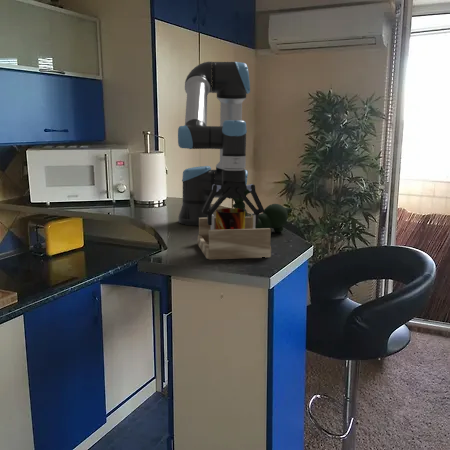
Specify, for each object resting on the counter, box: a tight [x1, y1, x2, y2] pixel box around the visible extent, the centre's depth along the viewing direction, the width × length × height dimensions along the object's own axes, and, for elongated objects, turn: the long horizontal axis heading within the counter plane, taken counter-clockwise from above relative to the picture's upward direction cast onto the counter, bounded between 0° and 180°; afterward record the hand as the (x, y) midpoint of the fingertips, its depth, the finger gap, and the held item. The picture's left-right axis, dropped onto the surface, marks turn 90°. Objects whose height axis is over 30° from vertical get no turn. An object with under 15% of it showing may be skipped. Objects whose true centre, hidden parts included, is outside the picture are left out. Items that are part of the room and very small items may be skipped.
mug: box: [215, 207, 245, 230], centre depth 172 cm, size 10×14×12 cm
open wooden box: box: [197, 216, 272, 261], centre depth 172 cm, size 22×20×9 cm
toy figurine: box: [232, 189, 293, 233], centre depth 198 cm, size 9×19×25 cm
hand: (232, 234), depth 172 cm, fingers open, 13 cm apart
